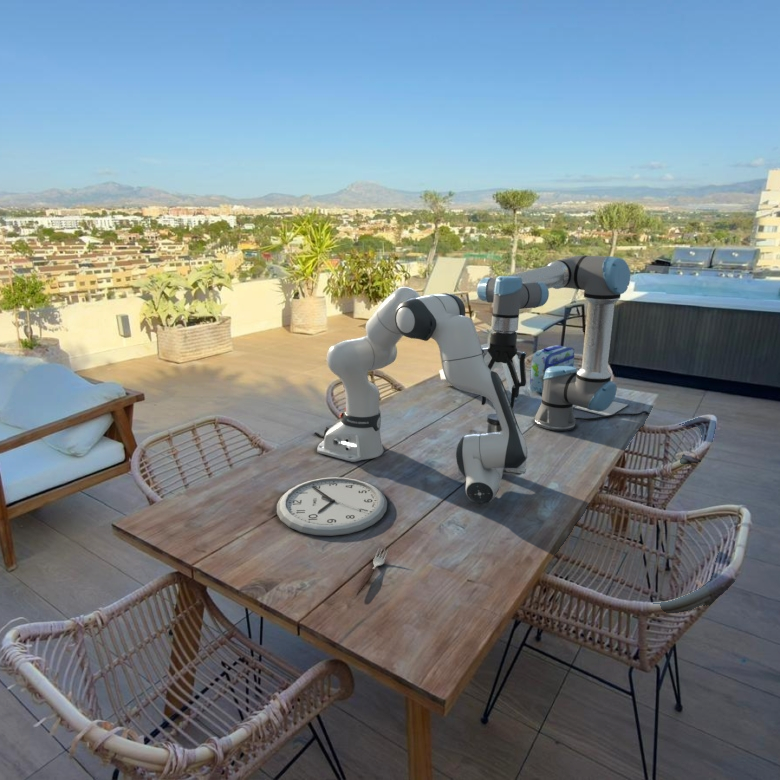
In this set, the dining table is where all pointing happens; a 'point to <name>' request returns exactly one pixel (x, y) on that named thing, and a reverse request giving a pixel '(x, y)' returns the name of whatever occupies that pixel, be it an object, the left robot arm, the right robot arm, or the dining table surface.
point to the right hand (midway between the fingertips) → (497, 405)
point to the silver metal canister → (494, 428)
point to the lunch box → (548, 363)
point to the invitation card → (610, 410)
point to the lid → (493, 419)
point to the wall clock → (331, 506)
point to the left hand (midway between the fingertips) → (494, 450)
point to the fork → (376, 562)
